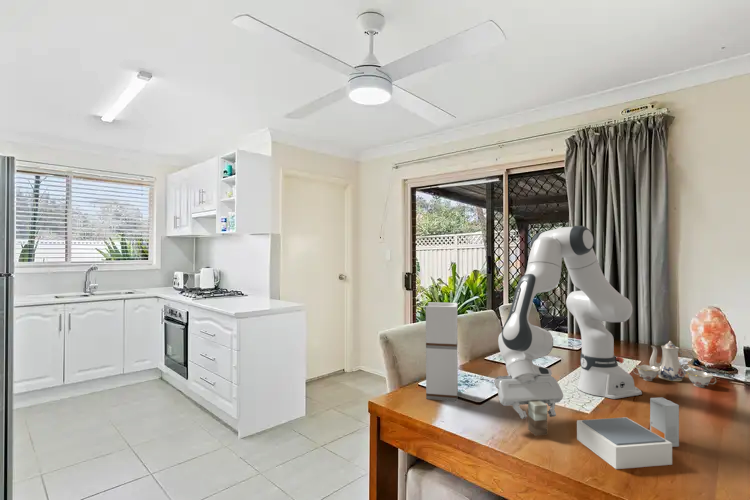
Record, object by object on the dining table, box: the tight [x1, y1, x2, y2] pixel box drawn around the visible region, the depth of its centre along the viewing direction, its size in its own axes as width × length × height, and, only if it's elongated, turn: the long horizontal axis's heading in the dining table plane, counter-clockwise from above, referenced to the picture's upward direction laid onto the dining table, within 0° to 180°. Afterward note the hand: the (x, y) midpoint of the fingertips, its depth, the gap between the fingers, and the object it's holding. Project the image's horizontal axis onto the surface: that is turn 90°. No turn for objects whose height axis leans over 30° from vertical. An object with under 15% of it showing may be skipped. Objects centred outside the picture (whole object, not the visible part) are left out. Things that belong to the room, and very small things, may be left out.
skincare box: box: [649, 397, 680, 448], centre depth 116 cm, size 6×4×12 cm
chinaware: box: [632, 340, 717, 388], centre depth 169 cm, size 28×17×17 cm, turn 67°
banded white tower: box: [425, 301, 459, 402], centre depth 154 cm, size 11×11×35 cm
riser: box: [576, 416, 673, 470], centre depth 111 cm, size 16×16×6 cm
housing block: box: [527, 400, 548, 436], centre depth 123 cm, size 4×4×9 cm
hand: (538, 417), depth 123 cm, fingers open, 8 cm apart
